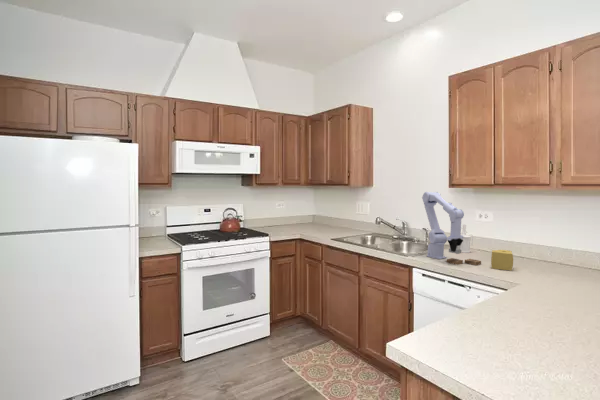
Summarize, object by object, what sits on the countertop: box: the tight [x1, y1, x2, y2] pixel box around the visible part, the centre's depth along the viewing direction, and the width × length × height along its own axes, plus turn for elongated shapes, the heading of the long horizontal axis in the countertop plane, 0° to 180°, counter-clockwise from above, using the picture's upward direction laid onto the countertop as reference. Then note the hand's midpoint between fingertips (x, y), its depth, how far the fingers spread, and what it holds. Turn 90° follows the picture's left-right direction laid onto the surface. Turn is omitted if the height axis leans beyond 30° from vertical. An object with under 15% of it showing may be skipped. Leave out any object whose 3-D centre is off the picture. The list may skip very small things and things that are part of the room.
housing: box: [448, 245, 462, 255], centre depth 202 cm, size 6×4×5 cm, turn 34°
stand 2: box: [464, 258, 482, 266], centre depth 201 cm, size 7×6×2 cm
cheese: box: [490, 249, 514, 272], centre depth 192 cm, size 10×11×10 cm
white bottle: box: [460, 223, 474, 254], centre depth 236 cm, size 10×9×20 cm
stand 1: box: [445, 257, 464, 266], centre depth 202 cm, size 7×6×2 cm
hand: (454, 251), depth 202 cm, fingers closed on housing, 4 cm apart
